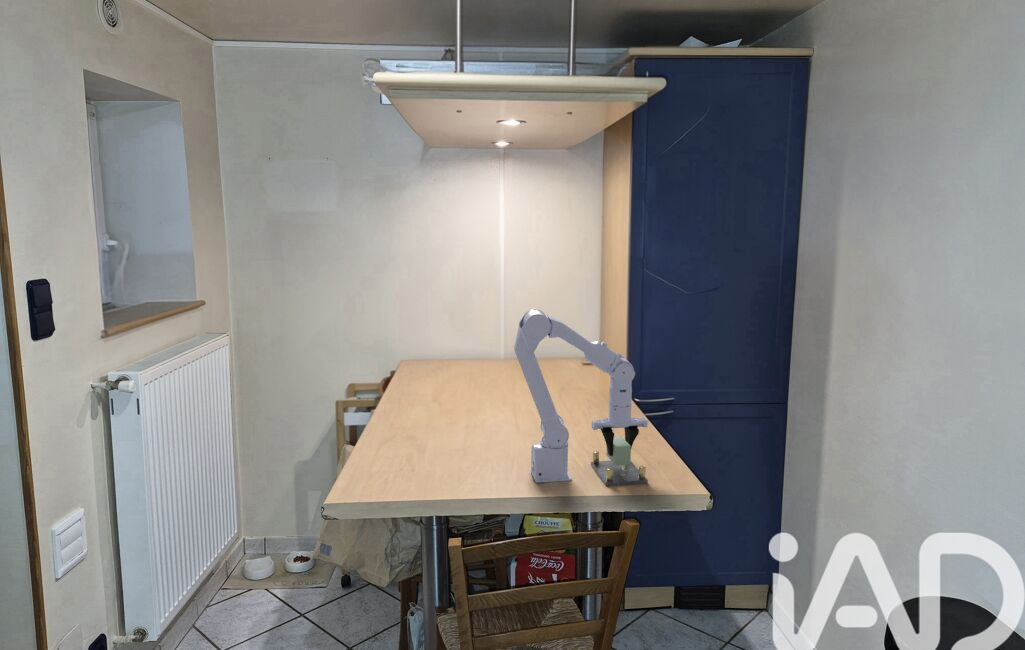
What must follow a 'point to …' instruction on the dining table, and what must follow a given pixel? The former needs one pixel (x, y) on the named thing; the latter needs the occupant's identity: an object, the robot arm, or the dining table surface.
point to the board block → (620, 452)
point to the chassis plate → (618, 472)
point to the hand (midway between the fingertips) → (618, 454)
